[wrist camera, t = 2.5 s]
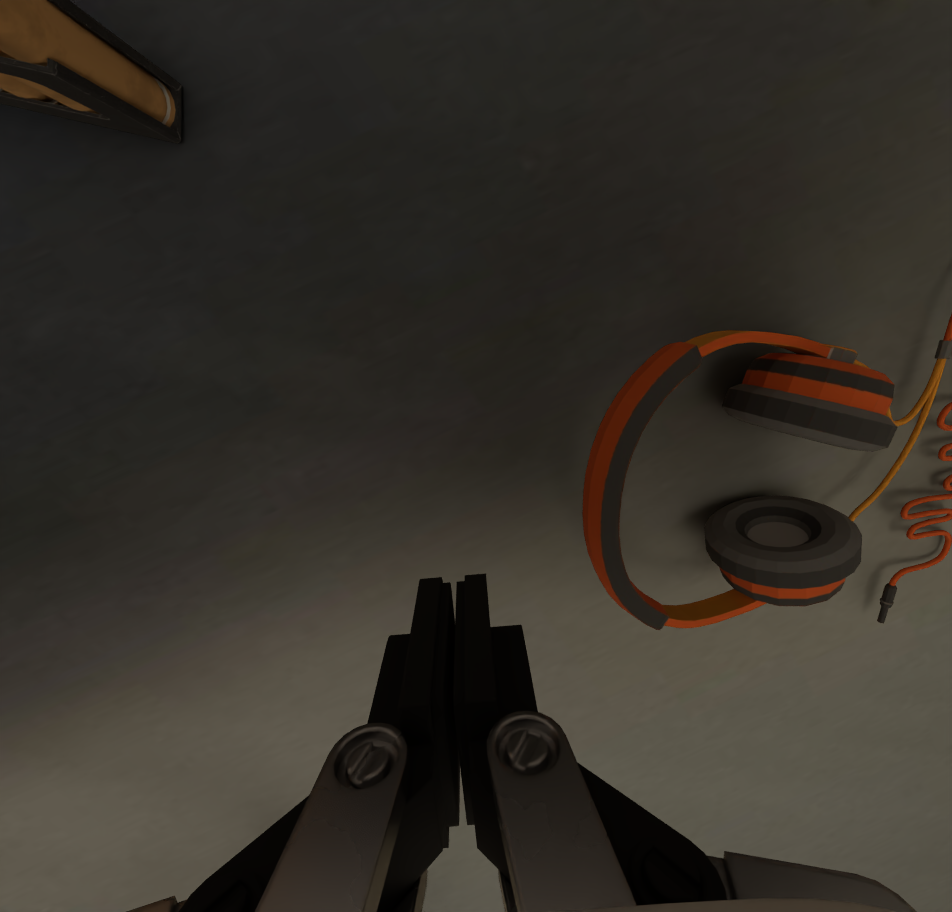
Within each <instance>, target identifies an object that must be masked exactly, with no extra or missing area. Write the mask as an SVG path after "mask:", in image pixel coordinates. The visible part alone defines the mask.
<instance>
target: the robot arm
mask: <svg viewBox="0 0 952 912" xmlns="http://www.w3.org/2000/svg"><path fill="white" fill-rule="evenodd" d="M460 768H461V777H462V785H463V794H464V802H465V811H466V819H467V825H475V832H476V841H477V848H478V849H479V850H480V851H481V852H482V853H483V854H484V855H485V856H486V857H487V858H488V859H489V860H490V861H491V862H492V863H493V864H494V865H495V866H496V867H497V868H498V875H499V883H500V888H501V893H502V898H503V904H504V909H505V912H916V911H915V910H914V909H913V908H912V907H911V906H910V905H909V904H908V903H907V902H906V901H905V900H904V899H903V898H901V897H900V896H899V895H898V894H897V893H895V892H893V891H892V890H890V889H889V888H887V887H885V886H884V885H882V884H881V883H879V882H877V881H875V880H872V879H869V878H866V877H864V876H861V875H858V874H853V873H848V872H842V871H836V870H830V869H825V868H819V867H813V866H807V865H802V864H796V863H790V862H784V861H779V860H773V859H767V858H761V857H756V856H750V855H744V854H739V853H733V852H727V851H724V859H723V858H717V857H712V856H706V855H705V853H704V852H703V851H701V850H700V849H699V848H698V847H697V846H696V845H695V844H693V843H692V842H691V841H690V840H689V839H687V838H686V837H684V836H683V835H681V834H680V833H678V832H677V831H676V830H674V829H673V828H671V827H670V826H668V825H667V824H665V823H664V822H663V821H661V820H660V819H658V818H657V817H655V816H654V815H652V814H651V813H650V812H648V811H647V810H645V809H644V808H642V807H641V806H639V805H638V804H637V803H635V802H634V801H632V800H631V799H629V798H628V797H626V796H625V795H624V794H622V793H621V792H619V791H618V790H616V789H615V788H613V787H612V786H611V785H609V784H608V783H606V782H605V781H603V780H602V779H600V778H599V777H598V776H596V775H595V774H593V773H592V772H590V771H589V770H587V769H586V768H585V767H583V766H582V765H580V764H579V763H577V761H576V758H575V756H574V754H573V751H572V749H571V747H570V744H569V742H568V739H567V737H566V735H565V733H564V732H563V730H562V728H561V727H560V725H558V724H557V723H556V722H555V721H554V720H553V719H552V718H550V717H548V716H546V715H544V714H542V713H539V712H538V711H537V705H536V700H535V694H534V689H533V683H532V678H531V673H530V667H529V662H528V656H527V651H526V645H525V640H524V635H523V629H522V626H521V625H512V626H500V627H490V618H489V605H488V593H487V581H486V574H476V575H465V581H462V582H457V589H456V621H455V618H454V609H453V600H452V591H451V583H450V582H449V583H443V581H442V577H439V578H427V579H420V581H419V586H418V592H417V598H416V604H415V610H414V615H413V621H412V627H411V633H410V634H402V635H390V636H389V638H388V641H387V644H386V649H385V653H384V657H383V661H382V665H381V669H380V674H379V678H378V682H377V686H376V690H375V694H374V699H373V703H372V707H371V711H370V715H369V719H368V724H365V725H363V726H360V727H357V728H355V729H353V730H352V731H350V732H348V733H347V734H345V735H344V736H343V737H342V738H341V739H340V740H339V741H338V742H337V743H336V744H335V745H334V747H333V748H332V750H331V752H330V753H329V755H328V757H327V759H326V761H325V763H324V765H323V767H322V770H321V772H320V774H319V776H318V778H317V780H316V782H315V784H314V787H313V789H312V791H311V793H310V795H309V796H308V797H306V798H305V799H304V800H303V801H302V802H300V803H299V804H298V805H297V806H295V807H294V808H293V809H292V810H291V811H289V812H288V813H287V814H286V815H284V816H283V817H282V818H281V819H280V820H278V821H277V822H276V823H275V824H273V825H272V826H271V827H270V828H269V829H267V830H266V831H265V832H264V833H262V834H261V835H260V836H259V837H258V838H256V839H255V840H254V841H253V842H252V843H250V844H249V845H248V846H247V847H245V848H244V849H243V850H242V851H241V852H239V853H238V854H237V855H236V856H234V857H233V858H232V859H231V860H230V861H228V862H227V863H226V864H225V865H223V866H222V867H221V868H220V869H219V870H217V871H216V872H215V873H214V874H212V875H211V876H210V877H209V878H208V879H206V880H205V881H204V882H203V883H202V884H201V885H200V886H199V887H198V888H197V889H196V890H195V891H194V892H193V893H192V894H191V895H190V896H189V898H188V899H187V900H185V901H182V902H179V903H177V900H176V898H175V896H172V897H169V898H166V899H163V900H160V901H157V902H154V903H151V904H148V905H145V906H142V907H139V908H136V909H133V910H130V911H127V912H422V908H423V902H424V897H425V892H426V887H427V873H428V872H427V868H428V867H429V866H430V865H431V863H432V862H433V861H434V860H435V859H436V858H437V857H438V855H439V854H440V853H441V852H442V851H443V848H449V827H451V826H459V802H460Z"/></svg>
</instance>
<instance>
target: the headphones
mask: <svg viewBox="0 0 952 912" xmlns="http://www.w3.org/2000/svg"><path fill="white" fill-rule="evenodd" d="M951 339H952V314H951V317H950V320H949V323H948V326H947V329H946V333H945V336H944V339H943V340H940V341H939V345H938V348H937V351H936V355H935V358H938V359H937V361H936V364H935V367H934V369H933V372H932V374H931V377H930V379H929V382H928V384H927V386H926V388H925V390H924V392H923V394H922V395H921V397H920V399H919V401H918V402H917V403H916V405H915V406H914V407H913V409H912V410H911V411H910V412H909V413H908V414H907V415H906V416H905V417H904V418H902V419H900V420H897V421H893V420H892V416H891V412H890V408H889V406H890V404H891V402H892V400H893V393H894V384H893V383H892V381H891V380H890V379H889V378H888V377H887V376H886V375H885V374H883V373H880V372H878V371H875V370H872V369H870V368H869V367H867V366H866V365H864V364H862V363H861V362H859V361H857V360H855V359H856V357H857V352H856V351H854V350H852V349H848V348H844V347H839V346H834V345H827V344H820V343H818V342H815V341H812V340H809V339H805V338H802V337H798V336H791V335H785V334H778V333H771V332H755V331H737V330H726V331H716V332H711V333H707V334H704V335H701V336H698V337H695V338H693V339H691V340H689V341H686V342H677V343H671V344H668V345H666V346H664V347H662V348H661V349H660V350H658V351H657V352H656V353H655V354H653V355H652V356H651V357H650V358H649V359H648V360H647V361H646V362H645V363H644V364H643V365H642V366H641V367H640V368H639V369H638V370H637V371H636V372H634V373H633V374H632V376H631V377H630V378H629V380H628V381H627V382H626V383H625V385H624V386H623V387H622V388H621V390H620V391H619V392H618V394H617V395H616V397H615V398H614V400H613V402H612V403H611V405H610V407H609V408H608V410H607V412H606V414H605V416H604V418H603V420H602V422H601V424H600V426H599V429H598V432H597V434H596V437H595V440H594V443H593V445H592V448H591V452H590V456H589V460H588V465H587V469H586V474H585V482H584V491H583V513H582V514H583V527H584V536H585V541H586V545H587V550H588V554H589V556H590V559H591V561H592V564H593V566H594V569H595V571H596V573H597V575H598V577H599V579H600V581H601V582H602V584H603V586H604V587H605V589H606V591H607V592H608V594H609V595H610V596H611V597H612V598H613V599H614V601H615V602H616V603H617V604H618V605H619V606H620V607H621V608H623V609H624V610H626V611H627V612H628V613H630V614H631V615H632V616H634V617H635V618H637V619H638V620H640V621H641V622H643V623H644V624H646V625H648V626H650V627H652V628H654V629H656V630H660V629H662V627H663V626H664V625H665V626H670V627H675V628H694V627H701V626H705V625H709V624H713V623H717V622H720V621H723V620H726V619H729V618H731V617H734V616H737V615H740V614H743V613H745V612H748V611H751V610H753V609H755V608H757V607H759V606H761V605H764V604H766V603H769V604H773V605H777V606H808V605H812V604H816V603H819V602H823V601H827V600H828V599H830V598H831V597H832V596H833V595H835V594H836V593H837V592H839V591H840V590H841V588H842V586H843V584H844V582H845V578H846V577H847V576H849V575H850V574H852V573H853V572H854V571H855V570H856V568H857V567H858V565H859V564H860V562H861V545H862V535H861V533H860V531H859V529H858V527H857V525H856V524H855V523H854V522H853V521H854V520H855V518H856V517H857V516H858V515H859V514H860V513H861V512H862V511H863V510H864V509H865V508H866V507H868V506H869V505H870V504H871V503H872V502H873V501H874V500H875V499H876V498H877V497H878V496H879V495H880V494H881V493H882V491H883V490H884V489H885V488H886V486H887V485H888V484H889V482H890V481H891V480H892V478H893V477H894V475H895V474H896V472H897V471H898V469H899V468H900V466H901V465H902V463H903V462H904V460H905V459H906V457H907V455H908V454H909V452H910V450H911V449H912V447H913V445H914V443H915V441H916V439H917V437H918V436H919V434H920V431H921V429H922V427H923V425H924V422H925V420H926V418H927V416H928V413H929V410H930V408H931V405H932V403H933V400H934V398H935V395H936V392H937V389H938V385H939V382H940V379H941V376H942V373H943V369H944V366H945V362H946V359H950V356H951V353H952V340H951ZM748 342H755V343H762V344H769V345H773V346H777V347H780V348H784V349H787V350H790V351H792V352H794V353H797V354H791V353H769V354H766V355H763V356H761V357H758V358H756V359H754V361H753V362H752V364H751V365H750V366H749V368H748V369H747V371H746V374H745V377H744V379H743V382H742V384H738V385H736V386H733V387H731V388H728V391H727V394H726V396H725V399H724V402H723V405H722V406H723V408H724V409H725V410H726V412H727V413H728V414H729V415H731V416H733V417H735V418H737V419H739V420H741V421H744V422H747V423H750V424H754V425H757V426H761V427H764V428H768V429H771V430H775V431H779V432H783V433H786V434H790V435H794V436H798V437H802V438H805V439H809V440H813V441H817V442H821V443H825V444H829V445H834V446H838V447H842V448H847V449H852V450H860V451H872V452H873V451H877V450H880V449H884V448H888V446H889V444H890V442H891V440H892V438H893V436H894V433H895V431H896V429H897V426H900V425H903V424H905V423H907V422H909V421H910V420H911V419H912V418H913V417H915V416H916V414H917V413H918V412H919V410H920V409H921V408H922V407H923V408H922V411H921V414H920V416H919V419H918V421H917V424H916V426H915V428H914V430H913V432H912V434H911V436H910V438H909V440H908V442H907V444H906V445H905V447H904V449H903V451H902V452H901V454H900V456H899V457H898V459H897V460H896V462H895V463H894V465H893V466H892V468H891V469H890V471H889V472H888V474H887V475H886V477H885V478H884V479H883V481H882V482H881V483H880V485H879V486H878V487H877V489H876V490H875V491H874V492H873V493H872V494H871V495H870V496H869V497H868V498H867V499H866V500H865V501H864V502H863V503H861V504H860V505H859V506H858V507H857V508H856V509H855V510H854V511H853V512H852V513H851V515H850V516H849V517H847V516H846V515H844V514H842V513H840V512H838V511H836V510H834V509H833V508H831V507H828V506H826V505H823V504H820V503H817V502H814V501H811V500H807V499H802V498H796V497H788V496H759V497H753V498H747V499H743V500H740V501H737V502H733V503H731V504H729V505H727V506H725V507H723V508H721V509H719V510H717V511H716V512H715V513H714V514H713V515H711V516H710V517H709V518H708V520H707V522H706V525H705V527H704V531H705V542H706V550H707V552H708V554H709V556H710V558H711V559H712V561H714V562H715V563H716V564H717V565H718V566H719V567H720V571H721V573H722V575H723V577H724V578H725V579H726V581H727V582H728V583H729V584H730V585H731V586H732V587H733V588H734V589H733V590H730V591H728V592H725V593H723V594H720V595H717V596H714V597H711V598H708V599H705V600H701V601H698V602H694V603H690V604H684V605H677V606H676V605H661V604H660V603H659V602H657V601H655V600H654V599H652V598H650V597H649V596H647V595H645V594H644V593H643V592H641V591H640V590H639V589H638V588H637V587H636V586H635V585H634V584H633V583H632V582H631V581H630V579H629V577H628V575H627V573H626V570H625V566H624V562H623V559H622V555H621V547H620V538H619V519H620V508H621V497H622V492H623V487H624V482H625V477H626V473H627V470H628V467H629V464H630V461H631V457H632V454H633V452H634V450H635V447H636V445H637V443H638V441H639V439H640V436H641V434H642V432H643V430H644V429H645V427H646V425H647V424H648V422H649V420H650V419H651V417H652V416H653V414H654V412H655V411H656V410H657V408H658V407H659V406H660V405H661V403H662V402H663V401H664V400H665V398H666V397H667V396H668V395H669V394H670V393H671V392H672V391H673V390H674V389H675V388H676V387H677V386H678V385H679V384H680V383H681V382H682V381H683V380H684V379H685V378H686V377H687V376H688V375H690V374H691V373H692V372H694V371H695V370H696V369H697V368H698V367H699V366H700V365H701V364H702V360H703V359H702V357H703V356H705V355H707V354H709V353H711V352H713V351H716V350H718V349H720V348H723V347H727V346H730V345H733V344H738V343H748ZM923 405H924V406H923ZM950 410H952V402H951V403H949V404H948V405H947V406H945V407H944V408H943V410H942V411H941V412H940V414H939V416H938V418H937V425H938V427H939V428H941V429H943V430H946V431H952V425H945V423H944V420H945V417H946V416H947V414H948V413H949V411H950ZM949 449H952V443H950V444H946V445H944V446H943V447H942V448H941V449H940V450H939V453H938V457H939V459H941V460H942V461H951V460H952V455H951V456H946V455H945V454H946V452H947V451H948V450H949ZM951 481H952V475H950V476H948V477H947V478H946V479H945V480H944V482H943V488H944V489H945V490H947V491H952V486H950V483H951ZM943 499H952V494H944V495H935V496H927V497H923V498H918V499H915V500H912V501H909V502H908V503H906V504H905V505H904V507H903V508H902V510H901V513H900V514H901V517H902V518H904V519H915V518H920V517H925V516H930V515H938V514H945V513H947V515H946V516H943V517H939V518H934V519H928V520H925V521H922V522H919V523H916V524H914V525H912V526H911V527H910V528H909V529H908V531H907V534H906V535H907V537H908V538H909V539H919V538H924V537H929V536H936V535H944V536H945V544H944V546H943V549H942V551H941V553H940V554H939V555H938V556H937V557H936V558H934V559H932V560H930V561H928V562H926V563H922V564H918V565H914V566H910V567H907V568H903V569H901V570H900V571H898V572H897V573H896V574H895V575H894V576H893V577H892V578H891V580H890V582H889V583H888V584H886V585H885V588H884V591H883V595H882V598H880V604H881V610H880V613H879V616H878V620H877V621H878V622H880V623H884V621H885V618H886V615H887V612H888V608H890V607H891V606H892V605H893V600H894V597H895V594H896V591H897V587H896V585H895V584H896V582H897V581H898V579H899V578H900V577H901V576H903V575H904V574H906V573H909V572H912V571H916V570H920V569H924V568H928V567H930V566H932V565H935V564H937V563H938V562H940V561H941V560H943V559H944V557H945V556H946V555H947V553H948V551H949V549H950V546H951V543H952V537H951V535H950V534H949V533H948V532H947V531H944V530H935V531H928V532H922V533H917V534H914V532H915V530H917V529H919V528H921V527H924V526H927V525H931V524H935V523H940V522H945V521H948V520H951V519H952V509H937V510H930V511H923V512H919V513H914V514H907V513H908V510H909V509H910V508H911V507H913V506H914V505H917V504H920V503H924V502H929V501H935V500H943Z"/></svg>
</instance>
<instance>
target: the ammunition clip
mask: <svg viewBox="0 0 952 912" xmlns="http://www.w3.org/2000/svg"><path fill="white" fill-rule="evenodd" d="M0 103H1V104H5V105H10V106H14V107H19V108H23V109H27V110H32V111H36V112H41V113H45V114H49V115H54V116H58V117H63V118H67V119H71V120H76V121H80V122H85V123H89V124H93V125H98V126H102V127H107V128H111V129H115V130H120V131H124V132H129V133H133V134H137V135H142V136H146V137H150V138H155V139H159V140H164V141H168V142H172V143H179V142H180V141H181V85H180V84H179V83H178V82H177V81H176V80H174V79H173V78H172V77H170V76H169V75H168V74H166V73H165V72H164V71H162V70H161V69H160V68H158V67H157V66H156V65H154V64H153V63H152V62H150V61H149V60H148V59H146V58H145V57H144V56H142V55H141V54H140V53H138V52H137V51H136V50H134V49H133V48H132V47H130V46H129V45H128V44H126V43H125V42H124V41H122V40H121V39H120V38H118V37H117V36H116V35H114V34H113V33H112V32H110V31H109V30H108V29H106V28H105V27H104V26H102V25H101V24H100V23H98V22H97V21H96V20H94V19H93V18H92V17H90V16H89V15H88V14H86V13H85V12H84V11H82V10H81V9H80V8H78V7H77V6H76V5H74V4H73V3H72V2H70V1H69V0H0Z"/></svg>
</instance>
